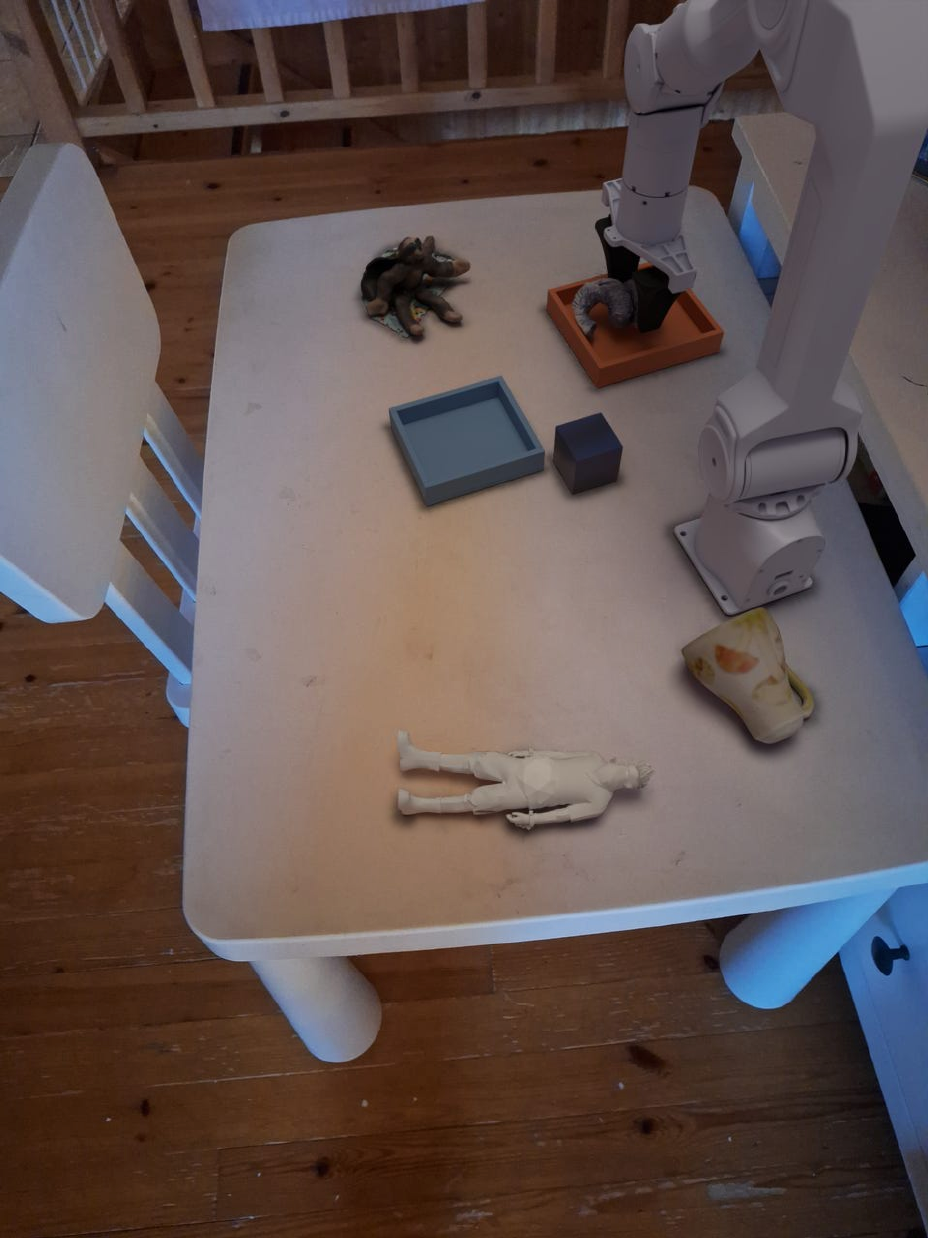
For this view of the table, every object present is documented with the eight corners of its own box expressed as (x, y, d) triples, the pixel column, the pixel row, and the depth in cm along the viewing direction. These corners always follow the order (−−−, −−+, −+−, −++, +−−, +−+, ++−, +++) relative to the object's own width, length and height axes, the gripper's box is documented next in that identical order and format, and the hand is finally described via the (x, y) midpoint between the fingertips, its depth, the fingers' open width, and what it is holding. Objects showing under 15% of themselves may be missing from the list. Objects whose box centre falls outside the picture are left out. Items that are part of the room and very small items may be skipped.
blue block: (617, 480, 80) (623, 446, 77) (572, 494, 80) (576, 461, 76) (596, 446, 83) (601, 411, 79) (552, 459, 82) (555, 425, 78)
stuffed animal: (381, 342, 89) (345, 222, 88) (376, 367, 98) (343, 260, 98) (494, 312, 90) (459, 194, 90) (478, 340, 100) (446, 234, 99)
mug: (751, 779, 66) (717, 684, 60) (692, 702, 74) (658, 612, 68) (843, 732, 65) (818, 632, 60) (774, 660, 73) (746, 566, 68)
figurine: (396, 727, 64) (650, 711, 63) (405, 746, 68) (645, 731, 67) (396, 826, 61) (664, 811, 60) (405, 840, 65) (658, 826, 63)
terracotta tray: (719, 351, 89) (724, 331, 87) (597, 388, 87) (599, 368, 84) (661, 277, 95) (665, 256, 93) (546, 309, 93) (547, 289, 91)
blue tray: (543, 469, 81) (545, 450, 79) (426, 506, 80) (425, 488, 77) (501, 394, 86) (501, 374, 84) (390, 427, 85) (388, 407, 82)
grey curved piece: (571, 342, 90) (668, 331, 91) (583, 329, 85) (686, 317, 86) (564, 288, 90) (662, 277, 90) (576, 271, 84) (679, 260, 85)
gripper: (577, 143, 80) (566, 274, 91) (652, 238, 73) (630, 367, 84) (649, 125, 81) (629, 256, 93) (730, 217, 74) (697, 347, 85)
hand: (634, 308), depth 88 cm, fingers closed on grey curved piece, 6 cm apart
